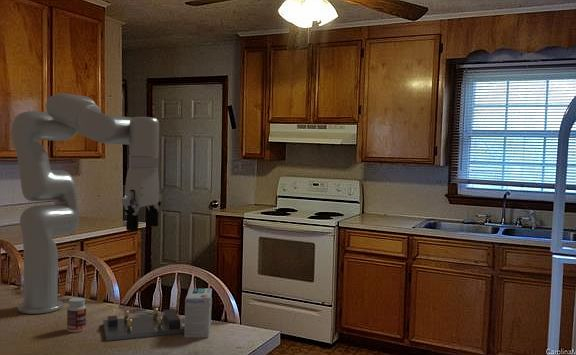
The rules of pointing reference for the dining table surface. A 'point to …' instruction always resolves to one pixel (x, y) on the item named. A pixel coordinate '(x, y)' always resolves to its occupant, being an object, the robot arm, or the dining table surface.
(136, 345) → the dining table surface
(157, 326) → the chassis
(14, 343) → the dining table surface
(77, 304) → the pill bottle
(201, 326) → the light bulb box
